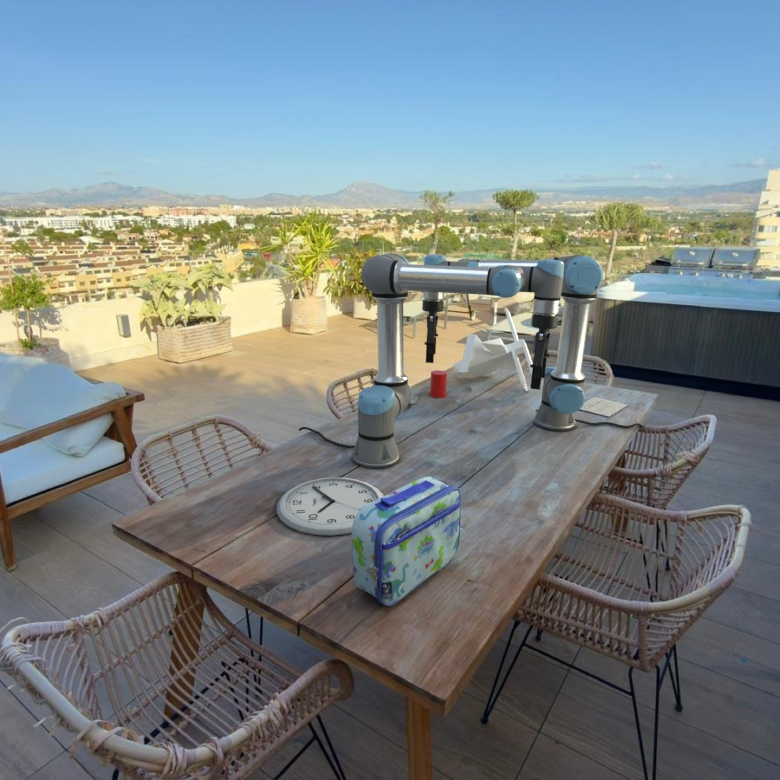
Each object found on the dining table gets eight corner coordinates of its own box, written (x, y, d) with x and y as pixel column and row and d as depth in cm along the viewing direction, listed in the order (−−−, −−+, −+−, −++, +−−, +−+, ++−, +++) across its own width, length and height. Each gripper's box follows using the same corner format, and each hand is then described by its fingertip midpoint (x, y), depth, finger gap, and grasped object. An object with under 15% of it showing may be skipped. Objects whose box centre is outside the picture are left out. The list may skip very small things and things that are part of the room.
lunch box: (381, 619, 101) (382, 525, 95) (345, 592, 109) (344, 503, 102) (464, 563, 119) (469, 480, 113) (428, 543, 126) (432, 464, 120)
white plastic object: (474, 420, 264) (452, 397, 239) (456, 347, 286) (434, 319, 261) (545, 396, 252) (530, 369, 227) (521, 322, 274) (504, 290, 249)
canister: (428, 397, 235) (429, 374, 232) (431, 392, 242) (432, 369, 239) (444, 398, 234) (445, 375, 230) (446, 393, 240) (447, 371, 237)
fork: (400, 411, 216) (400, 406, 215) (412, 399, 230) (412, 395, 230) (406, 412, 215) (406, 407, 215) (418, 400, 230) (418, 396, 229)
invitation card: (608, 416, 214) (573, 407, 224) (608, 416, 214) (573, 408, 224) (628, 404, 229) (594, 396, 238) (628, 405, 229) (594, 397, 238)
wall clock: (392, 527, 129) (268, 531, 127) (391, 533, 130) (269, 537, 127) (383, 473, 158) (282, 475, 155) (383, 478, 158) (282, 480, 156)
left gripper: (555, 321, 142) (546, 395, 148) (561, 309, 164) (553, 374, 170) (527, 319, 144) (519, 392, 150) (536, 307, 166) (530, 371, 173)
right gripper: (425, 295, 197) (423, 350, 204) (419, 304, 174) (417, 366, 180) (445, 295, 196) (442, 350, 203) (442, 305, 173) (439, 367, 179)
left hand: (537, 383), depth 160 cm, fingers open, 13 cm apart
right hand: (430, 358), depth 191 cm, fingers open, 13 cm apart
